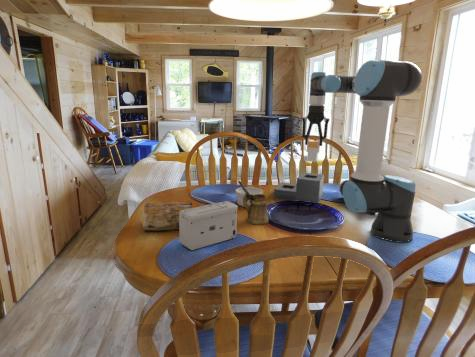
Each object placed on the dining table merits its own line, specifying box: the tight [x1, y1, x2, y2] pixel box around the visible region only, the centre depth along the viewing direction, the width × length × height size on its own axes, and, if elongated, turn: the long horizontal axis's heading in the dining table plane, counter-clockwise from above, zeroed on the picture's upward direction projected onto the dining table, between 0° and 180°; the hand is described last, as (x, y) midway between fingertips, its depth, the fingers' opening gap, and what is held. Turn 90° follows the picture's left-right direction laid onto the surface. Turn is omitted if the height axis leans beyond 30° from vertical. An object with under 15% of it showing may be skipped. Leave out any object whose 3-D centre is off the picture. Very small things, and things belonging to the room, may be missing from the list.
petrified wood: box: [142, 201, 194, 232], centre depth 132 cm, size 19×13×10 cm
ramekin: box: [235, 186, 264, 208], centre depth 163 cm, size 13×13×7 cm
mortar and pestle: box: [237, 180, 269, 226], centre depth 139 cm, size 9×14×18 cm, turn 93°
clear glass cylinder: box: [306, 140, 319, 163], centre depth 168 cm, size 4×4×10 cm
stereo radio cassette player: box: [178, 194, 238, 251], centre depth 118 cm, size 21×8×20 cm, turn 127°
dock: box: [273, 171, 325, 203], centre depth 175 cm, size 16×23×12 cm
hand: (313, 151), depth 168 cm, fingers closed on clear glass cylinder, 4 cm apart
